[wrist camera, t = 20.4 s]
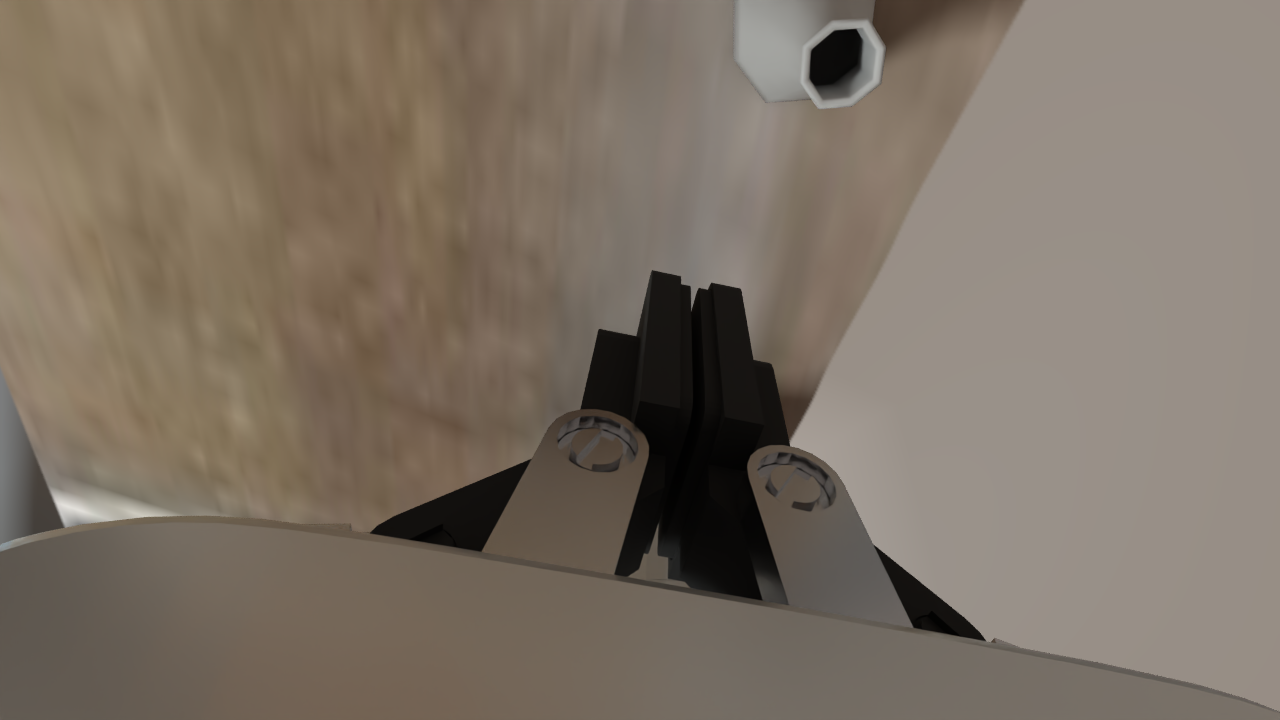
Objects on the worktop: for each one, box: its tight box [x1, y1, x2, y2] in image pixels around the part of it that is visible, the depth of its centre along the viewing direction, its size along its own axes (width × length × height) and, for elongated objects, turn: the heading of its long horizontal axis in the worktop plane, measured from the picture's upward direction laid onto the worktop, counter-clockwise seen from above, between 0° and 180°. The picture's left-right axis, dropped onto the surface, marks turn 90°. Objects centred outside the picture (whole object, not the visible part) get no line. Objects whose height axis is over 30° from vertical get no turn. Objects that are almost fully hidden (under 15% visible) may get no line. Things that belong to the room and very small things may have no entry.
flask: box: [734, 0, 886, 109], centre depth 27 cm, size 7×7×10 cm
